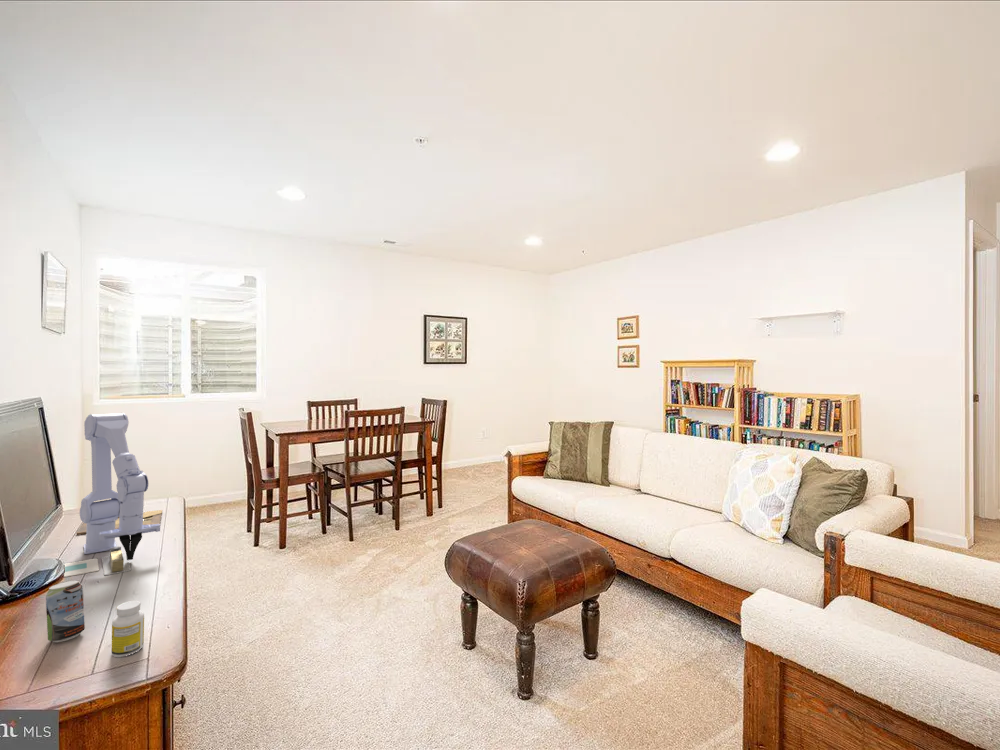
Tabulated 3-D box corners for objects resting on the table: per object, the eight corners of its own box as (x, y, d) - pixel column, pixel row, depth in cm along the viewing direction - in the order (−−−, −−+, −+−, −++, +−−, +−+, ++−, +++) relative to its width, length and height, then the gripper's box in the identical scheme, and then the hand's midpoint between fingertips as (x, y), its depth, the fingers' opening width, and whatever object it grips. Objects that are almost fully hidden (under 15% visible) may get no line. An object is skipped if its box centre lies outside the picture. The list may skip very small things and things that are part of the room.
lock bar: (110, 561, 144) (110, 552, 144) (120, 560, 145) (121, 550, 145) (112, 572, 137) (112, 561, 137) (123, 570, 138) (123, 559, 138)
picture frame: (162, 514, 194) (86, 522, 181) (162, 509, 194) (86, 517, 181) (159, 527, 179) (76, 537, 166) (159, 522, 178) (76, 532, 166)
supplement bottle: (122, 643, 104) (124, 598, 104) (149, 643, 104) (150, 598, 104) (104, 658, 98) (106, 611, 98) (132, 658, 99) (133, 611, 99)
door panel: (64, 564, 142) (65, 551, 142) (126, 553, 152) (126, 541, 152) (63, 583, 130) (64, 569, 130) (130, 570, 140) (131, 557, 140)
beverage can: (62, 648, 101) (64, 592, 101) (35, 643, 103) (37, 587, 103) (92, 632, 107) (94, 579, 107) (66, 628, 109) (68, 575, 109)
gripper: (101, 521, 137) (99, 569, 137) (162, 513, 147) (160, 557, 147) (99, 515, 142) (98, 561, 142) (159, 508, 152) (157, 550, 152)
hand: (129, 558), depth 145 cm, fingers closed
